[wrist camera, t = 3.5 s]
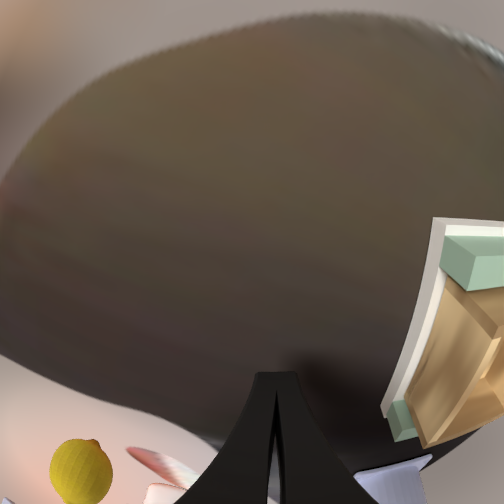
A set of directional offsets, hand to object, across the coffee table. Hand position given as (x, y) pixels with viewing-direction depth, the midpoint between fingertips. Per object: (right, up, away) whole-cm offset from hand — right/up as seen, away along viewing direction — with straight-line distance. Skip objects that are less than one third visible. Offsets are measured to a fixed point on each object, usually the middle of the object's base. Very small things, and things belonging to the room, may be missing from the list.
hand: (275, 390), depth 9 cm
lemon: (-15, -12, +9) cm, 21 cm away
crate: (+10, +1, +1) cm, 10 cm away
